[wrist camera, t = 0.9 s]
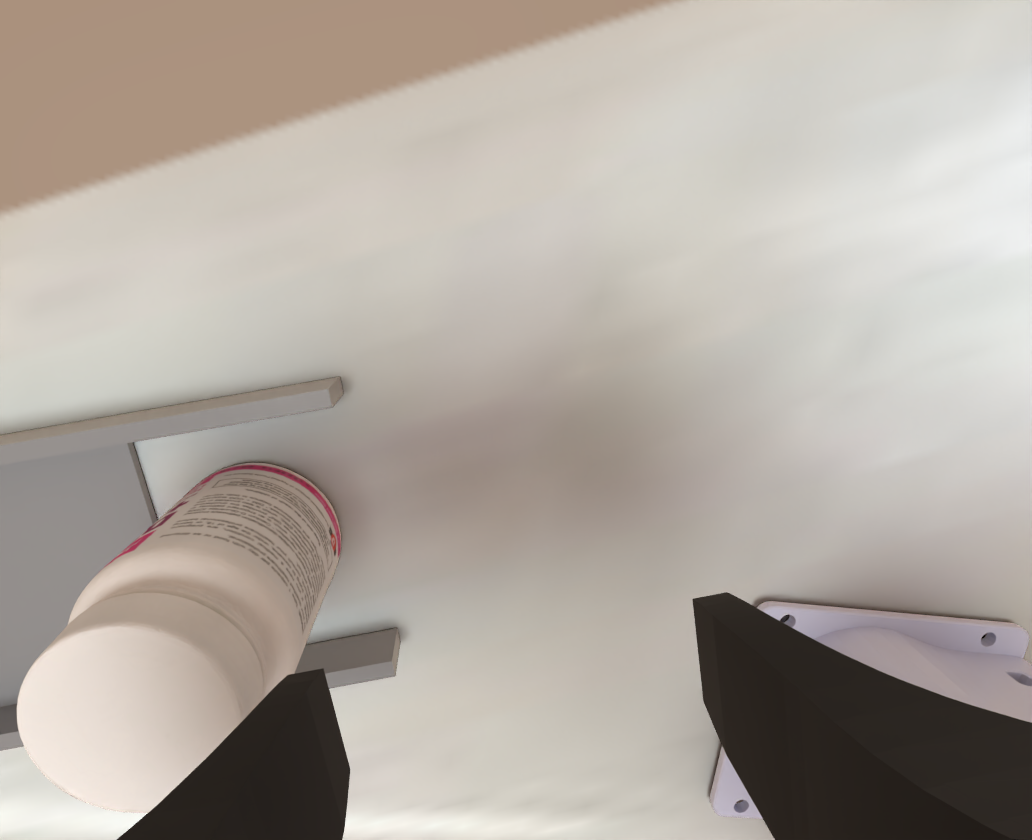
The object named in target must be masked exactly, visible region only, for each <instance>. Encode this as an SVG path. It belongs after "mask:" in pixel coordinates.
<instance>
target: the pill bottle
mask: <svg viewBox="0 0 1032 840" xmlns="http://www.w3.org/2000/svg"><path fill="white" fill-rule="evenodd" d="M340 551H341V533H340V527H339V523H338V519H337V516H336V514H335V512H334V509H333V507H332V505H331V504H330V502H329V501H328V499H327V498H326V497H325V495H324V494H323V493H322V492H321V491H320V490H319V489H318V488H317V487H316V486H315V485H314V484H312V483H311V482H310V481H309V480H307V479H306V478H304V477H302V476H301V475H299V474H297V473H295V472H293V471H290V470H288V469H286V468H283V467H279V466H275V465H271V464H265V463H244V464H238V465H234V466H230V467H227V468H224V469H221V470H219V471H217V472H215V473H213V474H211V475H209V476H208V477H207V478H205V479H204V480H202V481H201V482H200V483H198V484H197V485H196V486H195V487H194V488H192V489H191V490H190V491H189V492H188V493H187V494H186V495H185V496H184V497H183V498H182V499H181V500H180V501H178V502H177V503H176V504H175V505H174V506H173V507H172V508H171V509H170V510H168V511H167V512H166V513H165V514H164V515H163V516H162V517H161V518H160V519H159V520H157V521H156V522H155V523H154V524H153V525H152V526H150V527H149V528H148V529H147V530H146V531H145V532H144V533H143V534H141V535H140V536H139V537H138V538H137V539H136V540H135V541H133V542H132V543H131V544H130V545H129V546H128V547H127V548H126V549H124V550H123V551H122V552H121V553H120V554H118V555H117V556H116V557H115V558H114V559H113V560H112V561H111V562H110V563H108V564H107V565H106V566H105V567H104V568H103V569H102V570H101V571H100V572H99V573H98V574H97V575H96V576H95V577H94V578H93V579H92V580H91V581H90V582H89V584H88V585H87V586H86V587H85V589H84V590H83V591H82V593H81V594H80V596H79V597H78V599H77V601H76V603H75V605H74V607H73V610H72V612H71V614H70V618H69V621H68V625H67V626H66V627H65V629H64V630H63V631H62V632H61V633H60V634H59V635H58V636H57V638H56V639H55V640H54V641H53V642H52V643H51V644H50V645H49V646H48V647H47V648H46V649H45V650H44V651H43V652H42V654H41V655H40V656H39V657H38V658H37V659H36V660H35V662H34V663H33V665H32V666H31V668H30V669H29V671H28V672H27V674H26V676H25V678H24V681H23V683H22V685H21V688H20V692H19V695H18V702H17V725H18V730H19V734H20V738H21V740H22V742H23V745H24V747H25V749H26V751H27V753H28V755H29V756H30V758H31V760H32V761H33V763H34V764H35V765H36V766H37V767H38V768H39V770H40V771H41V772H42V773H43V774H44V775H45V776H46V777H47V778H48V779H49V780H50V781H51V782H52V783H53V784H55V785H56V786H57V787H59V788H60V789H61V790H63V791H64V792H66V793H67V794H69V795H71V796H73V797H74V798H76V799H79V800H81V801H83V802H85V803H89V804H91V805H94V806H98V807H100V808H103V809H108V810H113V811H120V812H132V813H148V812H150V811H151V810H152V809H153V808H154V807H155V806H157V805H158V804H159V803H160V802H161V801H162V800H163V799H164V798H165V797H166V796H167V795H168V794H169V793H170V792H171V791H172V790H173V789H174V788H176V787H177V786H178V785H179V784H180V783H181V782H182V781H183V780H184V779H185V778H186V777H187V776H188V775H189V774H190V773H191V772H192V771H193V770H194V769H195V768H196V767H198V766H199V765H200V764H201V763H202V762H203V761H204V760H205V759H206V758H207V757H208V756H209V755H210V754H211V753H212V752H213V751H214V750H215V749H216V748H217V747H218V746H219V745H220V744H221V743H222V742H223V740H224V739H225V738H226V737H227V736H228V735H229V734H230V733H231V732H232V731H233V730H234V729H235V728H236V727H237V726H238V725H239V724H240V723H241V722H242V721H243V720H244V719H245V718H246V717H247V716H248V714H249V713H250V712H251V711H252V710H253V709H254V708H255V707H256V706H257V705H258V704H259V703H260V702H261V701H262V700H263V699H264V698H265V697H266V696H267V695H268V693H269V692H270V691H271V690H272V689H273V688H274V687H275V686H276V685H277V684H278V683H279V682H280V681H282V680H283V679H284V678H285V677H286V676H287V675H290V674H294V673H295V671H296V668H297V665H298V663H299V660H300V658H301V655H302V653H303V650H304V647H305V645H306V642H307V640H308V637H309V635H310V632H311V630H312V627H313V624H314V622H315V619H316V617H317V614H318V612H319V609H320V607H321V604H322V601H323V599H324V596H325V594H326V592H327V589H328V587H329V585H330V582H331V580H332V578H333V576H334V573H335V570H336V567H337V564H338V561H339V557H340Z"/></svg>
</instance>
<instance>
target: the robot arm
mask: <svg viewBox="0 0 1032 840" xmlns="http://www.w3.org/2000/svg"><path fill="white" fill-rule="evenodd" d="M693 607H694V616H695V626H696V635H697V644H698V654H699V663H700V672H701V682H702V691H703V700H704V703H705V706H706V708H707V711H708V713H709V715H710V718H711V720H712V723H713V725H714V728H715V730H716V732H717V735H718V737H719V739H720V741H721V744H722V747H721V752H720V756H719V760H718V764H717V769H716V773H715V777H714V781H713V785H712V790H711V794H710V803H711V806H712V808H713V810H714V812H715V813H716V814H718V815H719V816H723V817H740V818H758V819H763V820H764V821H765V823H766V825H767V827H768V828H769V830H770V832H771V833H772V835H773V837H774V839H775V840H1032V665H1031V664H1030V663H1029V662H1027V661H1026V660H1024V659H1023V658H1024V655H1025V652H1026V649H1027V646H1028V643H1029V634H1028V632H1027V631H1026V630H1025V629H1024V628H1022V627H1021V626H1019V625H1018V624H1015V623H1008V622H997V621H986V620H975V619H964V618H953V617H942V616H931V615H920V614H908V613H897V612H886V611H875V610H864V609H853V608H842V607H831V606H820V605H809V604H797V603H786V602H775V601H768V602H764V603H762V604H760V605H759V606H758V607H757V608H756V607H754V606H752V605H750V604H749V603H747V602H745V601H743V600H741V599H739V598H737V597H736V596H734V595H732V594H729V593H722V594H716V595H711V596H706V597H700V598H695V599H693ZM785 615H790V617H789V619H788V620H787V621H786V622H784V623H782V622H781V621H780V620H781V618H782V617H783V616H785ZM986 633H987V635H986V636H985V638H983V639H982V640H981V638H982V637H983V635H985V634H986ZM349 777H350V767H349V763H348V759H347V756H346V752H345V748H344V744H343V740H342V737H341V733H340V729H339V725H338V722H337V718H336V714H335V710H334V706H333V703H332V699H331V695H330V691H329V687H328V684H327V680H326V676H325V672H324V668H322V669H317V670H311V671H306V672H301V673H295V674H290V675H287V676H286V677H285V678H284V679H283V680H282V681H280V682H279V683H278V684H277V685H276V686H275V687H274V688H273V689H272V690H271V691H270V692H269V693H268V695H267V696H266V697H265V698H264V699H263V700H262V701H261V702H260V703H259V704H258V705H257V706H256V707H255V708H254V709H253V710H252V711H251V712H250V713H249V714H248V716H247V717H246V718H245V719H244V720H243V721H242V722H241V723H240V724H239V725H238V726H237V727H236V728H235V729H234V730H233V731H232V732H231V733H230V734H229V735H228V736H227V737H226V738H225V739H224V740H223V742H222V743H221V744H220V745H219V746H218V747H217V748H216V749H215V750H214V751H213V752H212V753H211V754H210V755H209V756H208V757H207V758H206V759H205V760H204V761H203V762H202V763H201V764H200V765H199V766H198V767H196V768H195V769H194V770H193V771H192V772H191V773H190V774H189V775H188V776H187V777H186V778H185V779H184V780H183V781H182V782H181V783H180V784H179V785H178V786H177V787H176V788H174V789H173V790H172V791H171V792H170V793H169V794H168V795H167V796H166V797H165V798H164V799H163V800H162V801H161V802H160V803H159V804H158V805H157V806H155V807H154V808H153V809H152V810H151V811H150V812H149V813H148V814H146V815H145V816H144V817H143V818H142V819H141V820H140V821H138V822H137V823H136V824H135V825H134V826H133V827H131V828H130V829H129V830H128V831H127V832H125V833H124V834H123V835H122V836H121V837H119V838H118V839H117V840H342V838H343V833H344V827H345V818H346V809H347V799H348V788H349ZM739 800H743V801H742V802H740V803H737V804H735V803H736V802H737V801H739Z"/></svg>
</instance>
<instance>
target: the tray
mask: <svg viewBox="0 0 1032 840" xmlns="http://www.w3.org/2000/svg"><path fill="white" fill-rule="evenodd" d="M343 394H344V392H343V388H342V384H341V379H340V377H334V378H329V379H323V380H317V381H311V382H305V383H300V384H294V385H288V386H282V387H276V388H271V389H265V390H259V391H253V392H247V393H241V394H236V395H230V396H224V397H218V398H212V399H207V400H201V401H195V402H189V403H183V404H177V405H172V406H166V407H160V408H154V409H148V410H143V411H137V412H131V413H125V414H119V415H113V416H108V417H102V418H96V419H90V420H84V421H79V422H73V423H67V424H61V425H55V426H50V427H44V428H38V429H32V430H26V431H20V432H15V433H9V434H3V435H0V751H1V750H7V749H12V748H17V747H23V746H24V745H23V742H22V740H21V738H20V734H19V730H18V725H17V702H18V695H19V692H20V688H21V685H22V683H23V681H24V678H25V676H26V674H27V672H28V671H29V669H30V668H31V666H32V665H33V663H34V662H35V660H36V659H37V658H38V657H39V656H40V655H41V654H42V652H43V651H44V650H45V649H46V648H47V647H48V646H49V645H50V644H51V643H52V642H53V641H54V640H55V639H56V638H57V636H58V635H59V634H60V633H61V632H62V631H63V630H64V629H65V627H66V626H67V625H68V621H69V618H70V614H71V612H72V610H73V607H74V605H75V603H76V601H77V599H78V597H79V596H80V594H81V593H82V591H83V590H84V589H85V587H86V586H87V585H88V584H89V582H90V581H91V580H92V579H93V578H94V577H95V576H96V575H97V574H98V573H99V572H100V571H101V570H102V569H103V568H104V567H105V566H106V565H107V564H108V563H110V562H111V561H112V560H113V559H114V558H115V557H116V556H117V555H118V554H120V553H121V552H122V551H123V550H124V549H126V548H127V547H128V546H129V545H130V544H131V543H132V542H133V541H135V540H136V539H137V538H138V537H139V536H140V535H141V534H143V533H144V532H145V531H146V530H147V529H148V528H149V527H150V526H152V525H153V524H154V523H155V522H156V521H157V518H156V515H155V512H154V509H153V506H152V502H151V499H150V496H149V493H148V490H147V486H146V483H145V480H144V477H143V474H142V470H141V467H140V464H139V461H138V458H137V454H136V451H135V448H134V445H133V442H137V441H143V440H148V439H154V438H160V437H166V436H171V435H177V434H183V433H189V432H194V431H200V430H206V429H212V428H217V427H223V426H229V425H235V424H240V423H246V422H252V421H258V420H264V419H269V418H275V417H281V416H287V415H292V414H298V413H304V412H310V411H315V410H321V409H327V408H333V406H334V405H335V404H336V403H337V401H338V400H339V399H340V398H341V396H342V395H343ZM399 649H400V637H399V633H398V628H394V629H389V630H384V631H378V632H373V633H368V634H362V635H357V636H351V637H346V638H341V639H335V640H330V641H325V642H319V643H314V644H308V645H305V647H304V650H303V653H302V655H301V658H300V660H299V663H298V665H297V668H296V671H295V673H301V672H306V671H311V670H317V669H322V668H324V672H325V676H326V680H327V684H328V687H329V689H330V688H335V687H340V686H346V685H351V684H356V683H362V682H367V681H372V680H378V679H383V678H388V677H393V676H395V675H396V669H397V662H398V656H399ZM295 673H294V674H295Z"/></svg>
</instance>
